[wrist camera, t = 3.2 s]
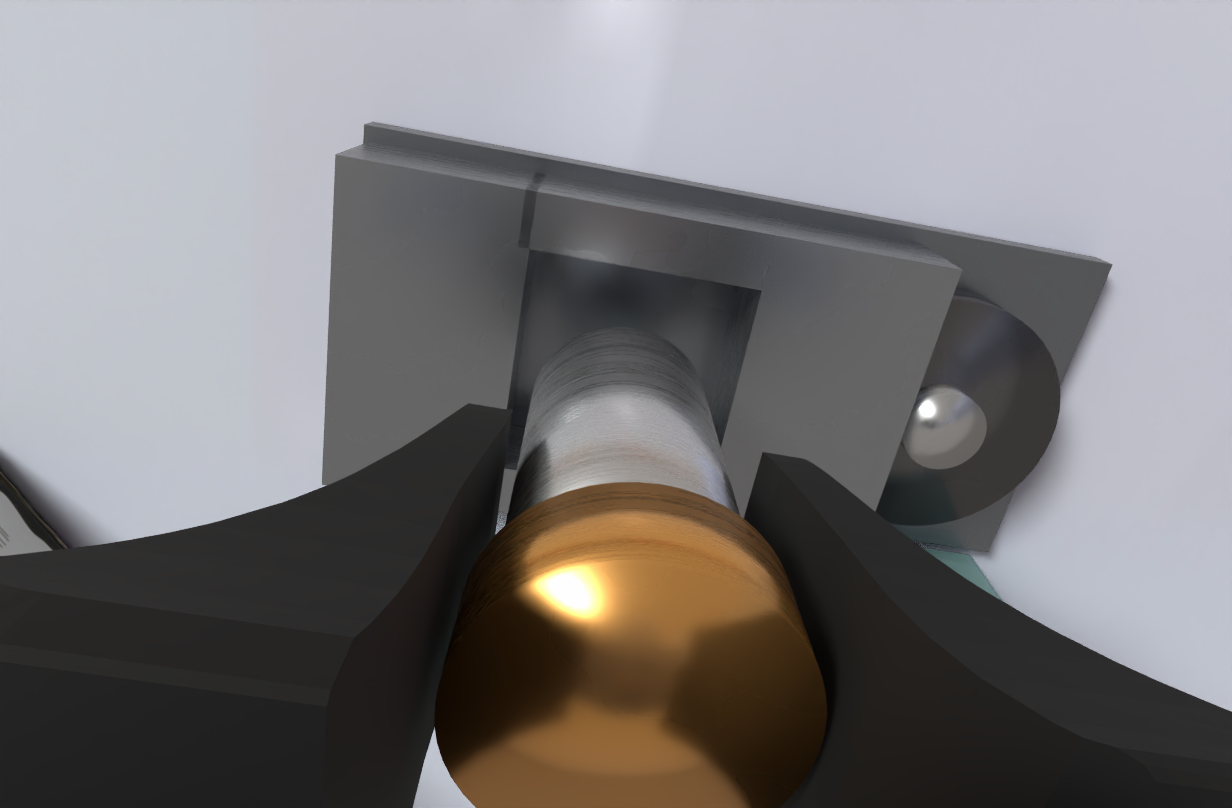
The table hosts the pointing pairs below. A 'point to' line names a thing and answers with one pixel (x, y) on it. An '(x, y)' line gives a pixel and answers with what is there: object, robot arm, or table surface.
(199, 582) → the robot arm
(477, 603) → the pin
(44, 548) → the candy bar box
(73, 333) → the table surface
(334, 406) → the plate
